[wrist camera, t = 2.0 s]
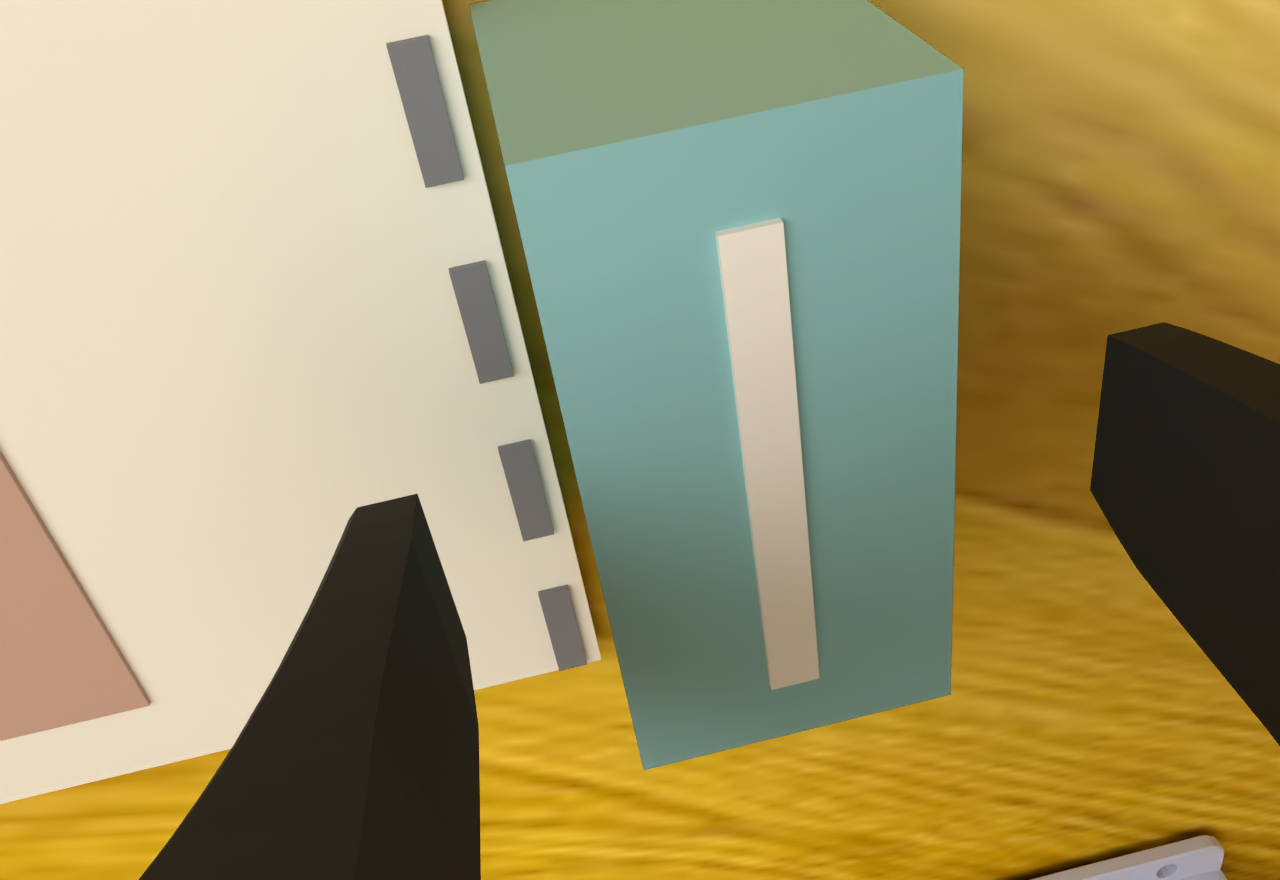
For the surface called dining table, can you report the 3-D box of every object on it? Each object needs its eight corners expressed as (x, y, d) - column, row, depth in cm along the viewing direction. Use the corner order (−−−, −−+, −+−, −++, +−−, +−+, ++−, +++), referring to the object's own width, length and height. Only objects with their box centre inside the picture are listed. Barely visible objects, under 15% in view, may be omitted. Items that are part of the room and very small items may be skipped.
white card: (375, -277, 12) (374, -274, 12) (595, 636, 20) (602, 664, 20) (-800, -59, 11) (-865, -43, 11) (-81, 796, 20) (-95, 832, 19)
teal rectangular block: (783, -60, 14) (969, 71, 10) (818, 449, 19) (954, 700, 14) (468, 4, 14) (505, 171, 9) (583, 503, 19) (644, 776, 14)
